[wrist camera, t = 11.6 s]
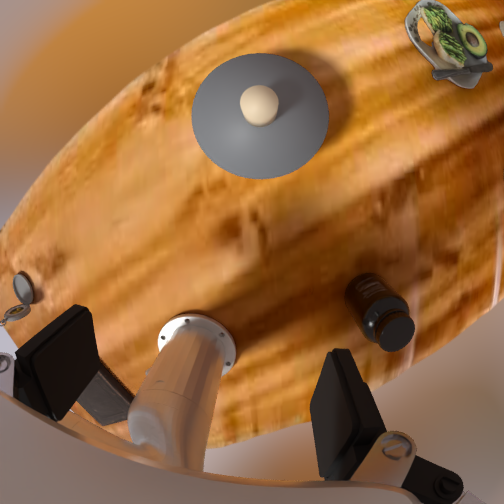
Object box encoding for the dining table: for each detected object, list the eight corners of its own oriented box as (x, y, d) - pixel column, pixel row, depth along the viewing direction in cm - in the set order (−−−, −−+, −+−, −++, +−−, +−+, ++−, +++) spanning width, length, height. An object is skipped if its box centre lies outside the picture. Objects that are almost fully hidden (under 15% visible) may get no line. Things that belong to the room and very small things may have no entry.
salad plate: (460, 118, 31) (477, 114, 26) (382, 37, 29) (393, 24, 24) (491, 63, 26) (505, 58, 22) (425, -5, 24) (436, -16, 20)
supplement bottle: (338, 311, 40) (361, 358, 28) (350, 268, 38) (381, 304, 26) (378, 316, 40) (409, 359, 28) (391, 275, 38) (430, 309, 26)
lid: (251, 206, 31) (249, 211, 26) (168, 111, 28) (153, 101, 24) (353, 126, 28) (367, 118, 23) (267, 35, 25) (267, 16, 21)
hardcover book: (106, 420, 51) (102, 426, 49) (41, 347, 46) (36, 352, 44) (147, 407, 48) (143, 415, 46) (71, 322, 44) (65, 327, 41)
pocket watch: (21, 266, 41) (-12, 283, 31) (43, 300, 42) (11, 321, 33) (10, 287, 42) (-19, 305, 33) (31, 318, 44) (3, 339, 34)
